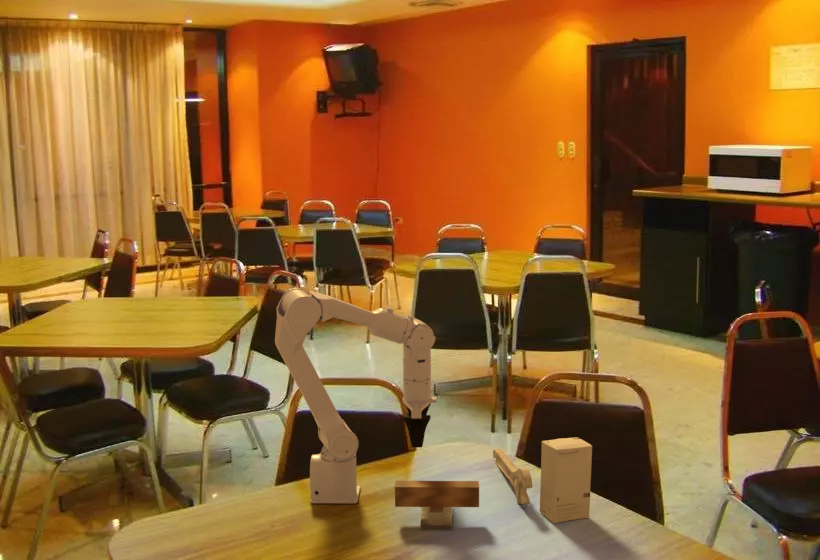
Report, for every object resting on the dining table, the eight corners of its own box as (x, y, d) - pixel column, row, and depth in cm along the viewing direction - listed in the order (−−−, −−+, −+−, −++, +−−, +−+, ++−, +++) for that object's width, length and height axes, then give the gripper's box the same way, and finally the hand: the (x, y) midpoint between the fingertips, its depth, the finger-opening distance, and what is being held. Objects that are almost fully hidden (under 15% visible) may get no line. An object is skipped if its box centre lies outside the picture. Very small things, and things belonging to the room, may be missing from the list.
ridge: (420, 530, 169) (420, 512, 169) (421, 511, 177) (421, 494, 177) (452, 530, 169) (452, 512, 169) (451, 511, 177) (451, 495, 176)
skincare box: (553, 524, 171) (554, 450, 168) (538, 511, 177) (539, 440, 174) (591, 517, 174) (593, 444, 171) (575, 505, 180) (577, 434, 177)
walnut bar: (395, 506, 171) (394, 487, 171) (395, 500, 174) (395, 480, 174) (479, 507, 171) (479, 487, 170) (478, 500, 174) (478, 481, 173)
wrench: (500, 471, 204) (533, 514, 175) (492, 471, 204) (523, 514, 174) (500, 436, 204) (532, 473, 174) (492, 437, 204) (523, 473, 174)
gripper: (436, 388, 179) (436, 453, 181) (436, 367, 193) (436, 428, 195) (400, 388, 179) (401, 452, 181) (403, 367, 193) (404, 428, 196)
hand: (417, 440), depth 188 cm, fingers open, 7 cm apart
